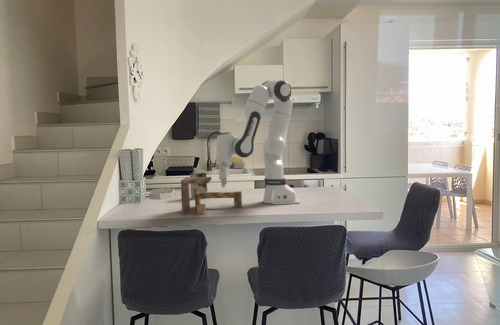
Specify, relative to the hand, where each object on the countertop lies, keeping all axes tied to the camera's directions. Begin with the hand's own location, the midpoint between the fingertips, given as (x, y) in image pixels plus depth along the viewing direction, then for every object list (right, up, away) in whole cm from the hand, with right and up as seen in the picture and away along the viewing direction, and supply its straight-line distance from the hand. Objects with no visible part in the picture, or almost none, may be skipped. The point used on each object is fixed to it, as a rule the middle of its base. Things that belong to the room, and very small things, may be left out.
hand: (224, 185), depth 227 cm
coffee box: (-18, -10, +32) cm, 38 cm away
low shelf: (-13, -13, -10) cm, 22 cm away
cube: (-11, -14, -10) cm, 20 cm away
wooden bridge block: (-3, -12, +1) cm, 13 cm away
